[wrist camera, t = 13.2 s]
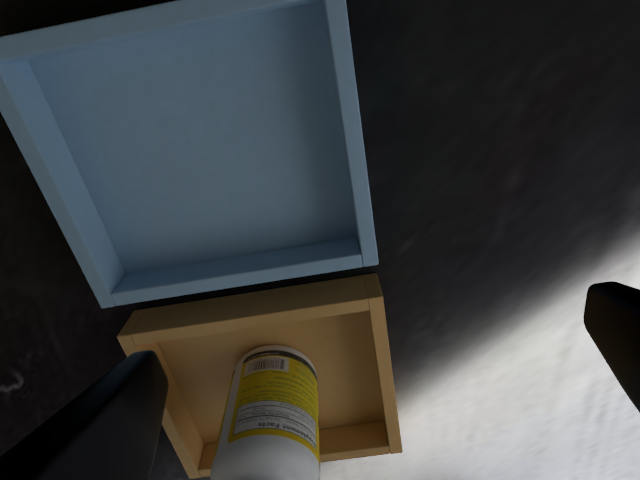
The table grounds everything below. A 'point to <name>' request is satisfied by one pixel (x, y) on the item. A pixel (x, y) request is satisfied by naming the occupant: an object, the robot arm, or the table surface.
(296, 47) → the tray
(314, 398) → the supplement bottle
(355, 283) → the tray
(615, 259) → the table surface
